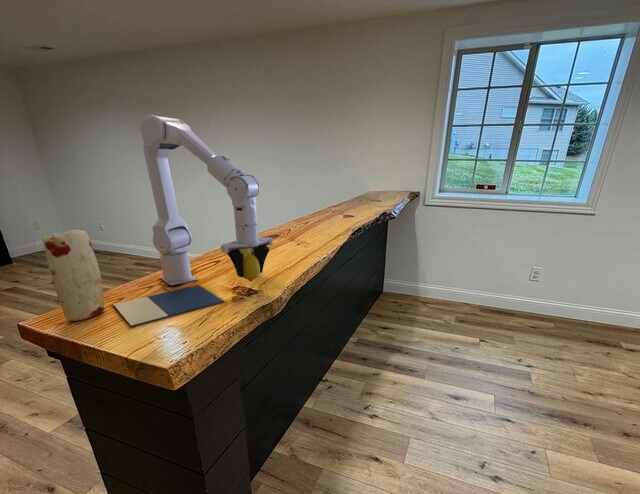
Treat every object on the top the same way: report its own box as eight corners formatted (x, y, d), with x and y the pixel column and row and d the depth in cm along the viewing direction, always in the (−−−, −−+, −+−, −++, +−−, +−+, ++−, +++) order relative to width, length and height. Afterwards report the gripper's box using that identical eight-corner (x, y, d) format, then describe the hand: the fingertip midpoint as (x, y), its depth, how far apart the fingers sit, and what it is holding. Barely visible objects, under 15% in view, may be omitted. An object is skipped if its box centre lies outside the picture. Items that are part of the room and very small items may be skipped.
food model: (77, 327, 76) (49, 236, 68) (57, 321, 78) (28, 233, 71) (116, 310, 85) (96, 227, 77) (97, 306, 87) (75, 225, 79)
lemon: (256, 285, 94) (254, 256, 91) (237, 284, 95) (234, 255, 92) (263, 279, 99) (262, 251, 96) (245, 277, 100) (243, 250, 97)
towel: (113, 305, 87) (112, 303, 87) (198, 286, 101) (198, 284, 101) (131, 327, 76) (130, 325, 76) (223, 302, 90) (223, 300, 90)
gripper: (228, 230, 84) (233, 283, 89) (277, 223, 92) (279, 272, 98) (214, 225, 88) (220, 276, 94) (263, 220, 97) (266, 266, 103)
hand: (250, 274), depth 96 cm, fingers closed on lemon, 5 cm apart
